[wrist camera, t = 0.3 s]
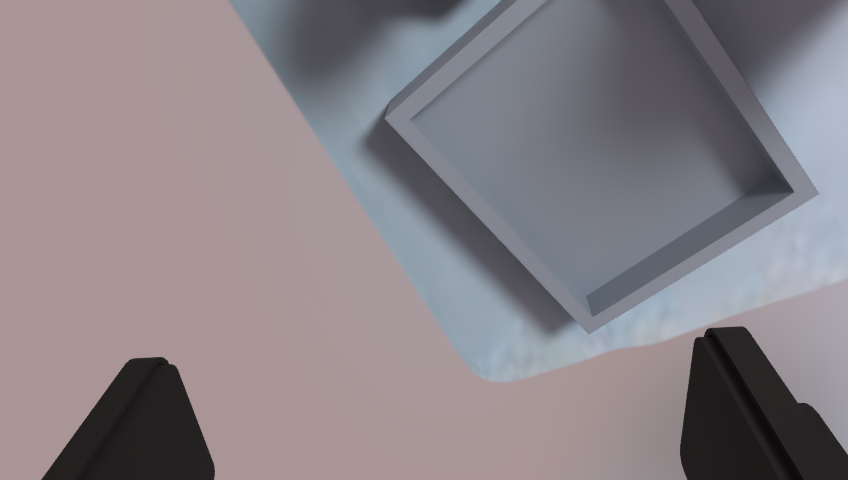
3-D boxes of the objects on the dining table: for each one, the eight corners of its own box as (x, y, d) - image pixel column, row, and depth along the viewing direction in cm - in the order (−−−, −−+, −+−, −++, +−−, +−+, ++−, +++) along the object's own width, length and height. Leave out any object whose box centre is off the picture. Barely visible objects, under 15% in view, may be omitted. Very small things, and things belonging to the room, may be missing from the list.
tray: (611, -99, 32) (627, -98, 29) (790, 170, 39) (819, 193, 35) (390, 100, 38) (384, 118, 35) (579, 304, 44) (588, 334, 41)
